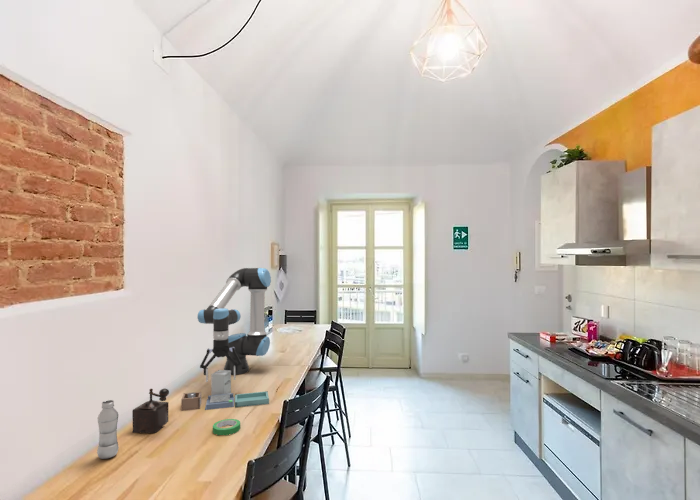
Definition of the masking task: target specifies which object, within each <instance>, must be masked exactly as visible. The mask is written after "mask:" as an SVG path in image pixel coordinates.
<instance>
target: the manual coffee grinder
mask: <svg viewBox="0 0 700 500" xmlns="http://www.w3.org/2000/svg"><path fill="white" fill-rule="evenodd" d="M148 394H149V400H148V401H145V402H143V403H142V404H140V405H138V406H137V407H135V408H133V409H132V431H131V432H132V433H134V434H135V433H136V434H155V433H157V432H159V431H160V430H162V429H164V428H165V425H166V424H168V422H169V401H167V396H168V395H169V394H170V391H169V389H168V388H162V389H160V390H159V393H154V392H153V388H150V389H149V393H148ZM154 396H155V397H157V398H159V401H158V400H153V397H154Z"/></svg>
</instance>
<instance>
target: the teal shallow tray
mask: <svg viewBox="0 0 700 500" xmlns="http://www.w3.org/2000/svg"><path fill="white" fill-rule="evenodd" d="M269 404H270V397H269V392H268V391H266V390H265V391H256V392H248V393H238V394H237V393H236V394H235V396H234V408H235V409H236V408H243V407H251V406H253V407H254V406H261V405H269Z"/></svg>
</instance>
